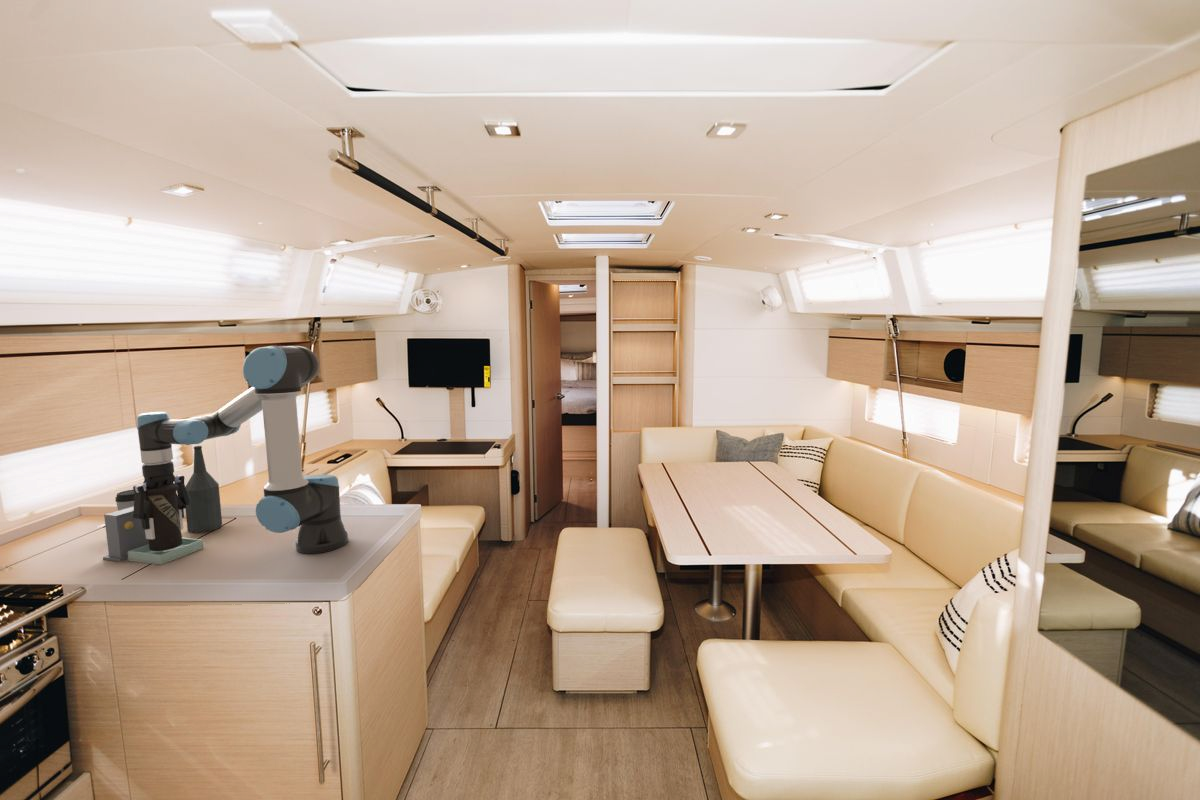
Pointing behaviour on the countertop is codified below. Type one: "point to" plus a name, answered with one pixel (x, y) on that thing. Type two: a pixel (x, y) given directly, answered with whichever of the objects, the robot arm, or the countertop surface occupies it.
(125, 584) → the countertop surface
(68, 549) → the countertop surface
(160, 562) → the tray
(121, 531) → the box
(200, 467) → the bottle
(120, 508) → the coffee cup
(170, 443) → the robot arm
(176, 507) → the container
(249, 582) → the countertop surface
